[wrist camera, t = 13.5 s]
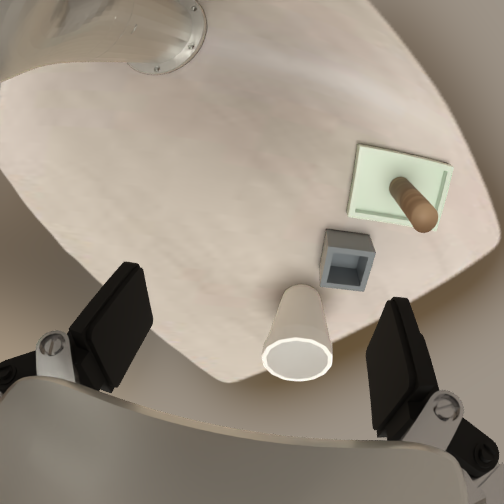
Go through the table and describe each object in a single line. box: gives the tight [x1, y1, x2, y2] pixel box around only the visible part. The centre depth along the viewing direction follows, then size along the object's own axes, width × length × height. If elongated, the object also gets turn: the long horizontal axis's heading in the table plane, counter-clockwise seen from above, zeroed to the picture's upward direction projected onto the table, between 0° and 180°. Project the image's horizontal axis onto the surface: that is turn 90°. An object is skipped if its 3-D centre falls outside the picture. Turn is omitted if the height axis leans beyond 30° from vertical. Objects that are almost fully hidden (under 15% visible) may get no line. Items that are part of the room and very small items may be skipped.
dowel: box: [389, 177, 438, 233], centre depth 32 cm, size 3×3×10 cm
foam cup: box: [262, 284, 332, 381], centre depth 43 cm, size 10×9×13 cm
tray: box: [346, 144, 454, 231], centre depth 36 cm, size 14×10×2 cm
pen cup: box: [319, 229, 376, 292], centre depth 41 cm, size 6×6×5 cm
